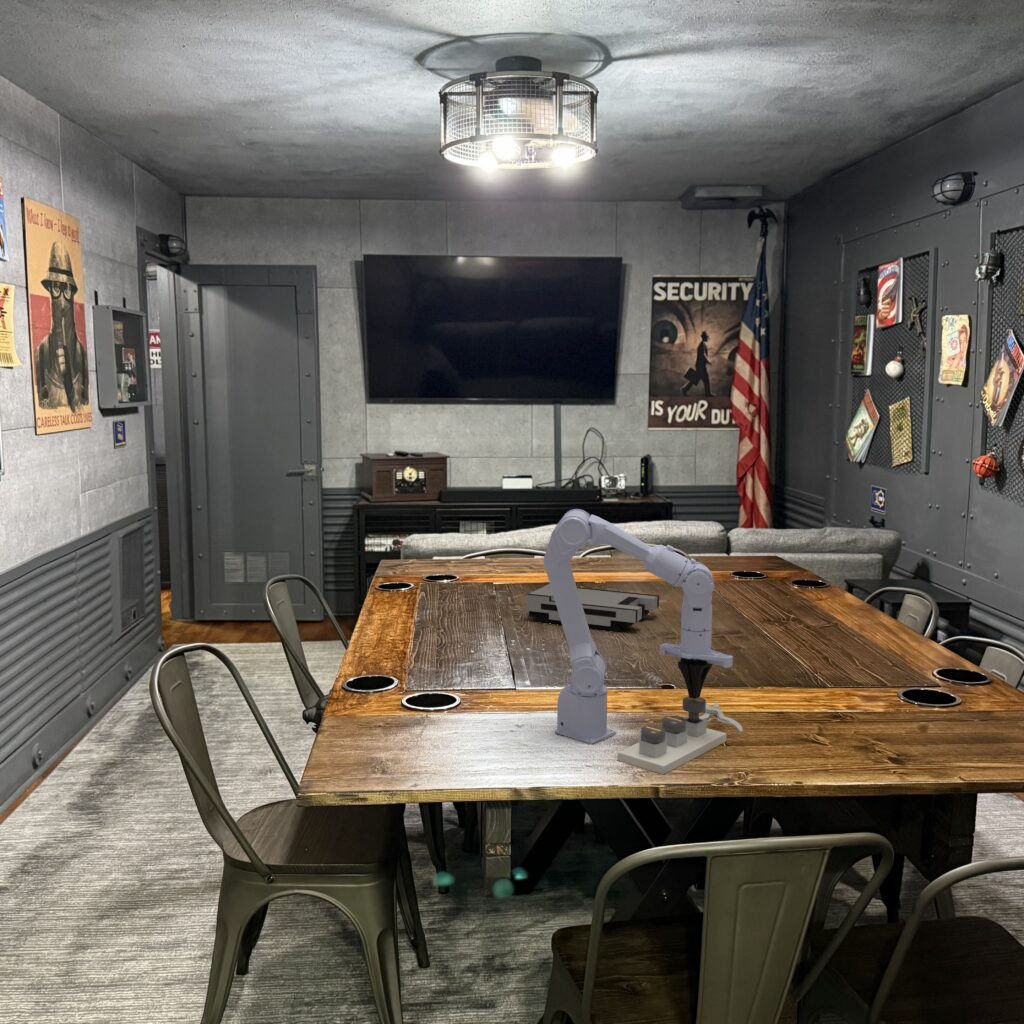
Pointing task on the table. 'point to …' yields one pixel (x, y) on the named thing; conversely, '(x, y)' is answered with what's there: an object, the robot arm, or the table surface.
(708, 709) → the pliers
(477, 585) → the table surface
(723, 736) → the knob mount
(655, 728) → the knob near
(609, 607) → the game console
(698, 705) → the knob far
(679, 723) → the knob middle
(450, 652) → the table surface
